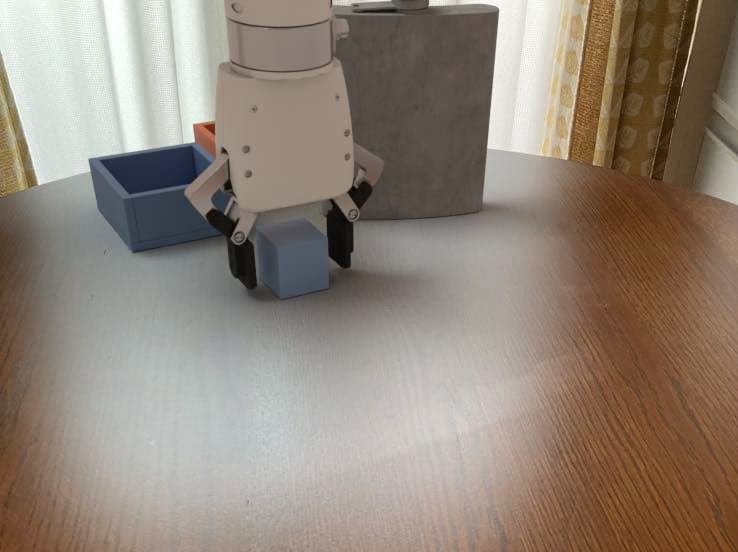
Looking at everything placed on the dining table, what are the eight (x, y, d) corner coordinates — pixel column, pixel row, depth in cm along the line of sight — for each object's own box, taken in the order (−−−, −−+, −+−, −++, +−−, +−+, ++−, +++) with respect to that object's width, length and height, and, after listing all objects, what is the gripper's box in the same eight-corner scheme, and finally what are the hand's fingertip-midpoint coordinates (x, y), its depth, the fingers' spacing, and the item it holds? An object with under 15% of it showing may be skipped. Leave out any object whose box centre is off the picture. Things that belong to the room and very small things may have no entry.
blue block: (280, 299, 76) (277, 248, 73) (259, 277, 79) (254, 226, 76) (329, 288, 78) (328, 237, 75) (306, 267, 81) (304, 216, 78)
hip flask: (477, 199, 93) (497, -30, 80) (487, 216, 90) (509, -20, 77) (320, 206, 90) (313, -29, 77) (325, 223, 88) (318, -19, 74)
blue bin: (132, 252, 82) (123, 199, 78) (97, 209, 88) (87, 158, 85) (243, 230, 86) (239, 178, 83) (202, 190, 93) (196, 141, 89)
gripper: (363, 19, 72) (363, 236, 83) (145, 43, 65) (179, 275, 77) (412, 43, 67) (405, 269, 79) (182, 71, 60) (212, 314, 72)
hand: (293, 271), depth 78 cm, fingers open, 8 cm apart
